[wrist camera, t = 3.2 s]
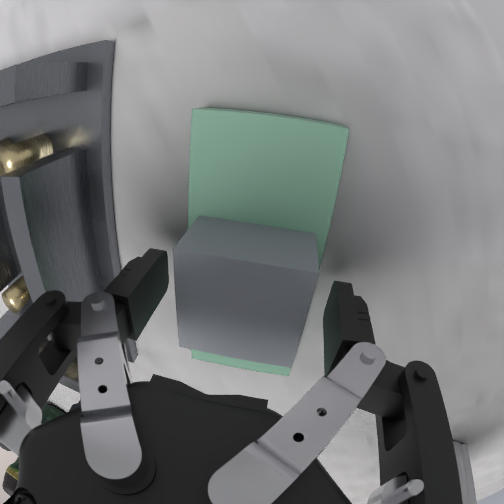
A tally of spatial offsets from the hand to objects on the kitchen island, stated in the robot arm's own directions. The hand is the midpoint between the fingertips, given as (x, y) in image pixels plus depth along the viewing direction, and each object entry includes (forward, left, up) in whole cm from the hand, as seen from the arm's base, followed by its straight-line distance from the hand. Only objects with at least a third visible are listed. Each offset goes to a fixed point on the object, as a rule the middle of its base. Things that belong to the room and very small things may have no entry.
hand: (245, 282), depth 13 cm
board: (0, 0, -3) cm, 3 cm away
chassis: (+14, 0, -2) cm, 15 cm away
